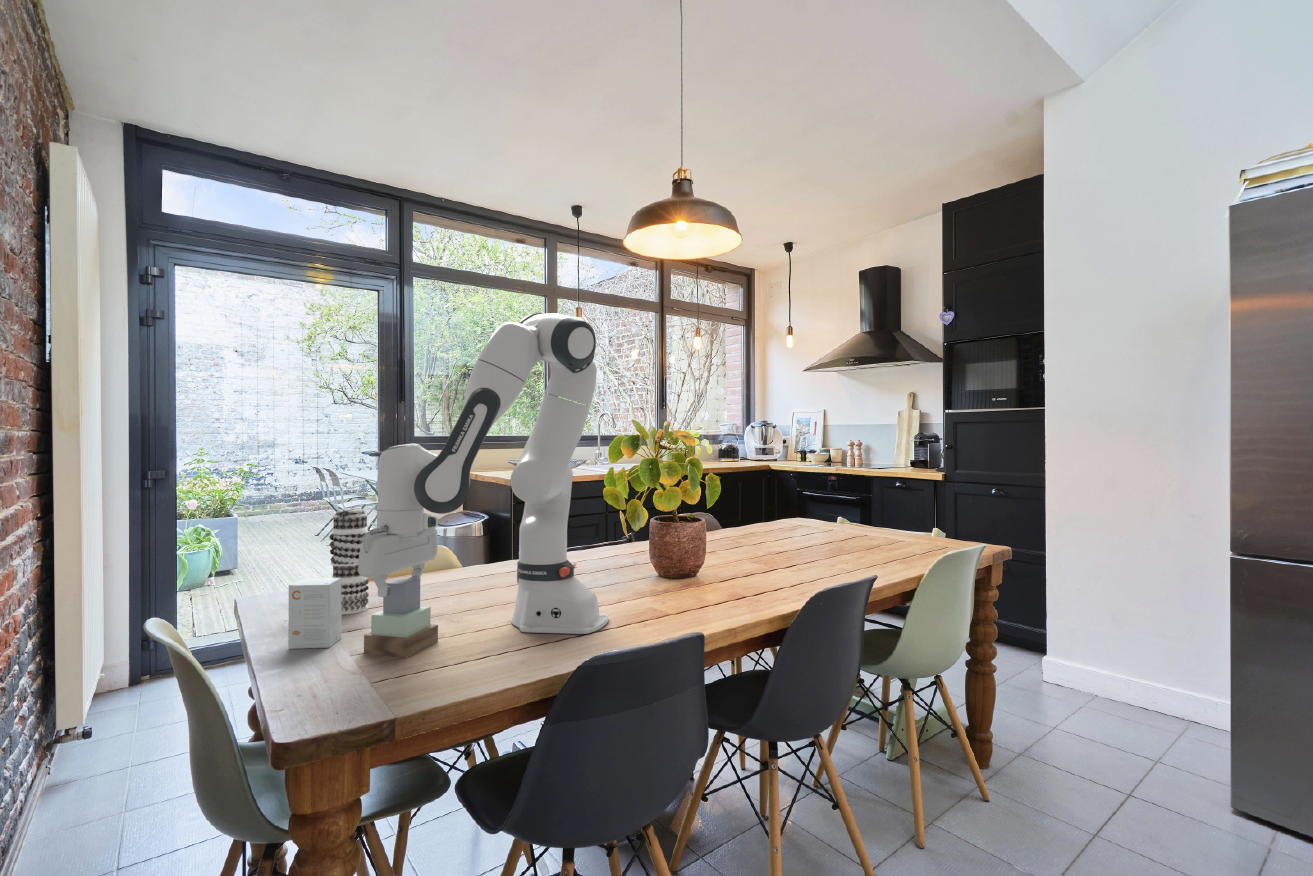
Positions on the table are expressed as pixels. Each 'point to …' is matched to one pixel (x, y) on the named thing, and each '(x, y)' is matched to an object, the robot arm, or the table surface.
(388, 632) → the tower top
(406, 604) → the block
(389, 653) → the tower base
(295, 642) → the small box
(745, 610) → the table surface
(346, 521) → the decorative candle
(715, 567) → the table surface
